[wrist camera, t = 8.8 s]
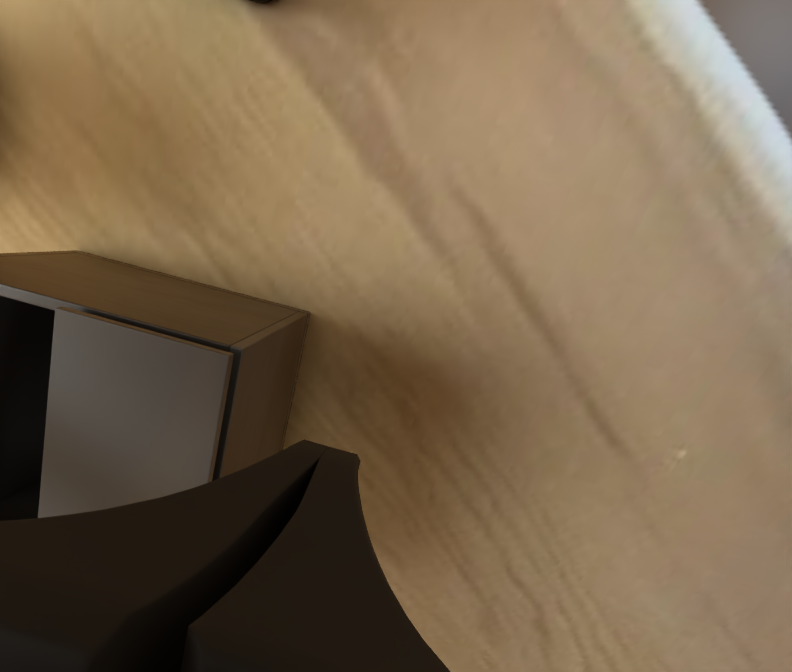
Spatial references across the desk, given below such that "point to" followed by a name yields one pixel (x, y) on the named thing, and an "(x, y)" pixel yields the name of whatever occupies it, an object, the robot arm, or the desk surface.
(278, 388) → the carton
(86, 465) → the flap
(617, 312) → the desk surface
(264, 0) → the film camera
